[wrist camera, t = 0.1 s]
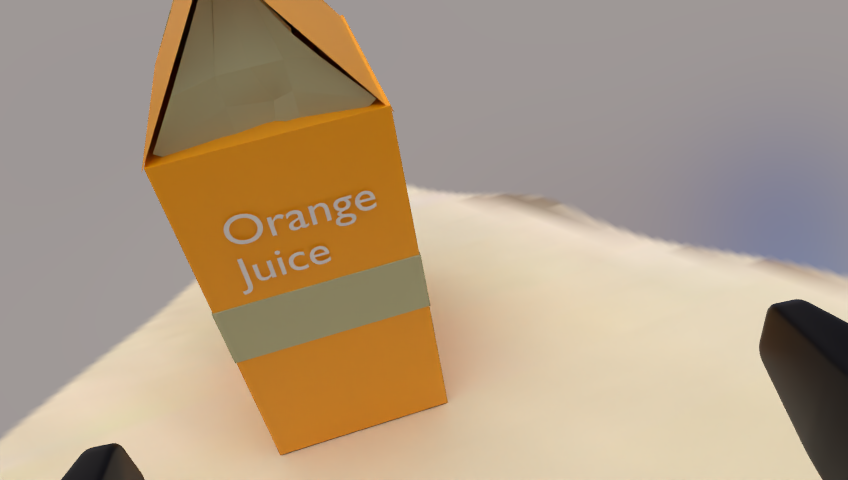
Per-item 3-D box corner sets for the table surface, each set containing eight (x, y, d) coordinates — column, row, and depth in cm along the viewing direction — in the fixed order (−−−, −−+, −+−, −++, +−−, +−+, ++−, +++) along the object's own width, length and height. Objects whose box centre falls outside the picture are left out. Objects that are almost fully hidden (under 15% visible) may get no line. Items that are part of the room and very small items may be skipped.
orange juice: (403, 277, 36) (313, -138, 24) (451, 403, 30) (359, -88, 17) (260, 319, 35) (89, -91, 23) (275, 458, 29) (44, -18, 16)
